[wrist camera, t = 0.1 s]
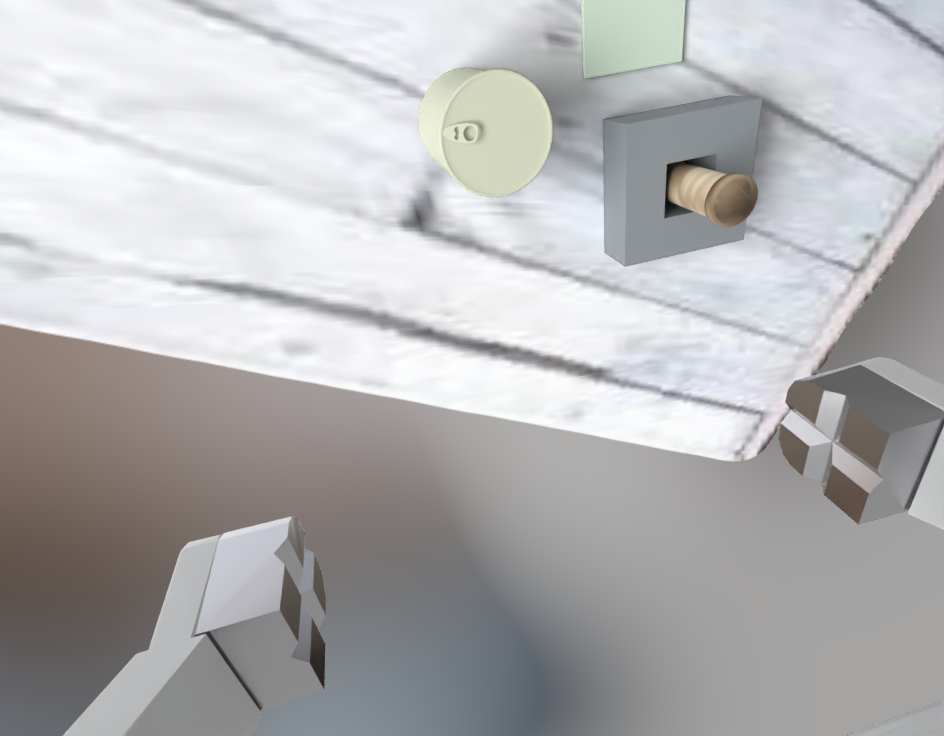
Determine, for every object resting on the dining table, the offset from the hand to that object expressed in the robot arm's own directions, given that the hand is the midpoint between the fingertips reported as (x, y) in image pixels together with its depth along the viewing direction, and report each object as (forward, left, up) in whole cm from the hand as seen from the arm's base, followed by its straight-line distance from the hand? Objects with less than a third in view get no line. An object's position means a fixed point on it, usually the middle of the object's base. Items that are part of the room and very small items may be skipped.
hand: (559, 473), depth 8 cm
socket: (+9, +30, -48) cm, 57 cm away
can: (0, +9, -48) cm, 49 cm away
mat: (-7, +26, -48) cm, 55 cm away
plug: (+9, +30, -48) cm, 57 cm away
